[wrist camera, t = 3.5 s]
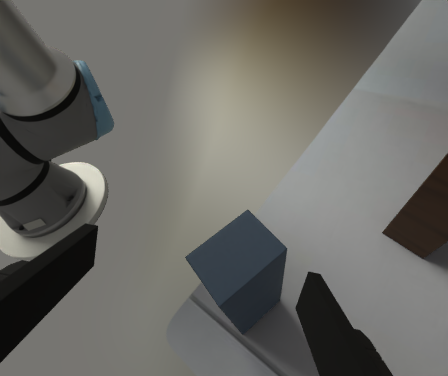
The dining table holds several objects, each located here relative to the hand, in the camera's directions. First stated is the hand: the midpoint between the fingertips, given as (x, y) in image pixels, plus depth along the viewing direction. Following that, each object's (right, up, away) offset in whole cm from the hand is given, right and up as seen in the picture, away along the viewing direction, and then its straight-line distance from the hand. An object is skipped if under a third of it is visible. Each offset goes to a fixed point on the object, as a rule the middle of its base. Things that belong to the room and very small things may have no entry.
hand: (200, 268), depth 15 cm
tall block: (+5, -12, +21) cm, 25 cm away
